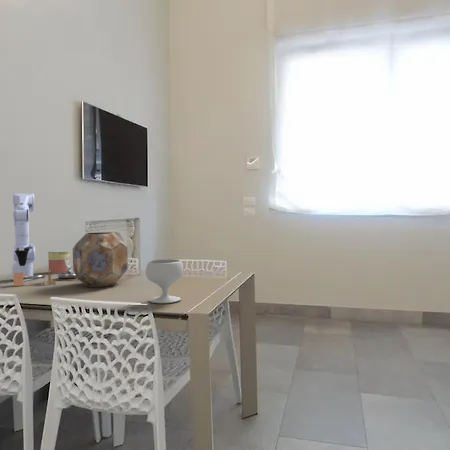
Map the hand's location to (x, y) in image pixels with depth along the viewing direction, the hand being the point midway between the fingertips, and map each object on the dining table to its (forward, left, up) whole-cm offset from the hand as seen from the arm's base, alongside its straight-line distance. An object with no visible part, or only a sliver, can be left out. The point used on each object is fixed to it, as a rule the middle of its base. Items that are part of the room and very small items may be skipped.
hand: (22, 264), depth 200 cm
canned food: (-14, +37, -10) cm, 41 cm away
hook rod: (+2, +2, -9) cm, 10 cm away
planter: (+34, +13, -10) cm, 38 cm away
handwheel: (+7, +22, -9) cm, 25 cm away
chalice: (+80, -7, -10) cm, 81 cm away
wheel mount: (+7, +22, -9) cm, 25 cm away
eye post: (+8, +8, -9) cm, 15 cm away
